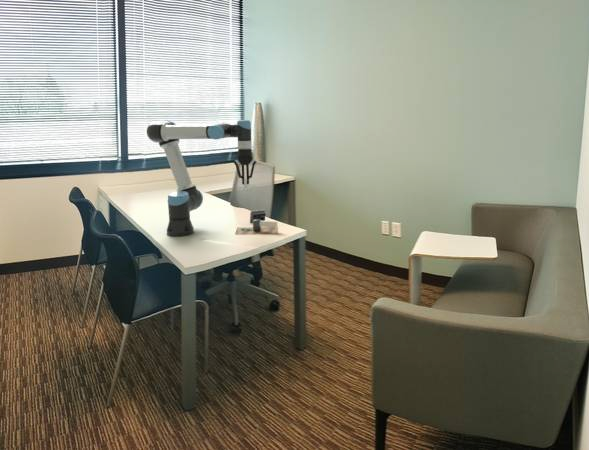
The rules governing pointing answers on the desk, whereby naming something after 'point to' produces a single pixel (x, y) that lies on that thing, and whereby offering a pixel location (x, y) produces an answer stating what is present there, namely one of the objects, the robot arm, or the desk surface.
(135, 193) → the desk surface
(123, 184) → the desk surface
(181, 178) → the robot arm
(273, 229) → the board
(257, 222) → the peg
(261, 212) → the electrical switch
